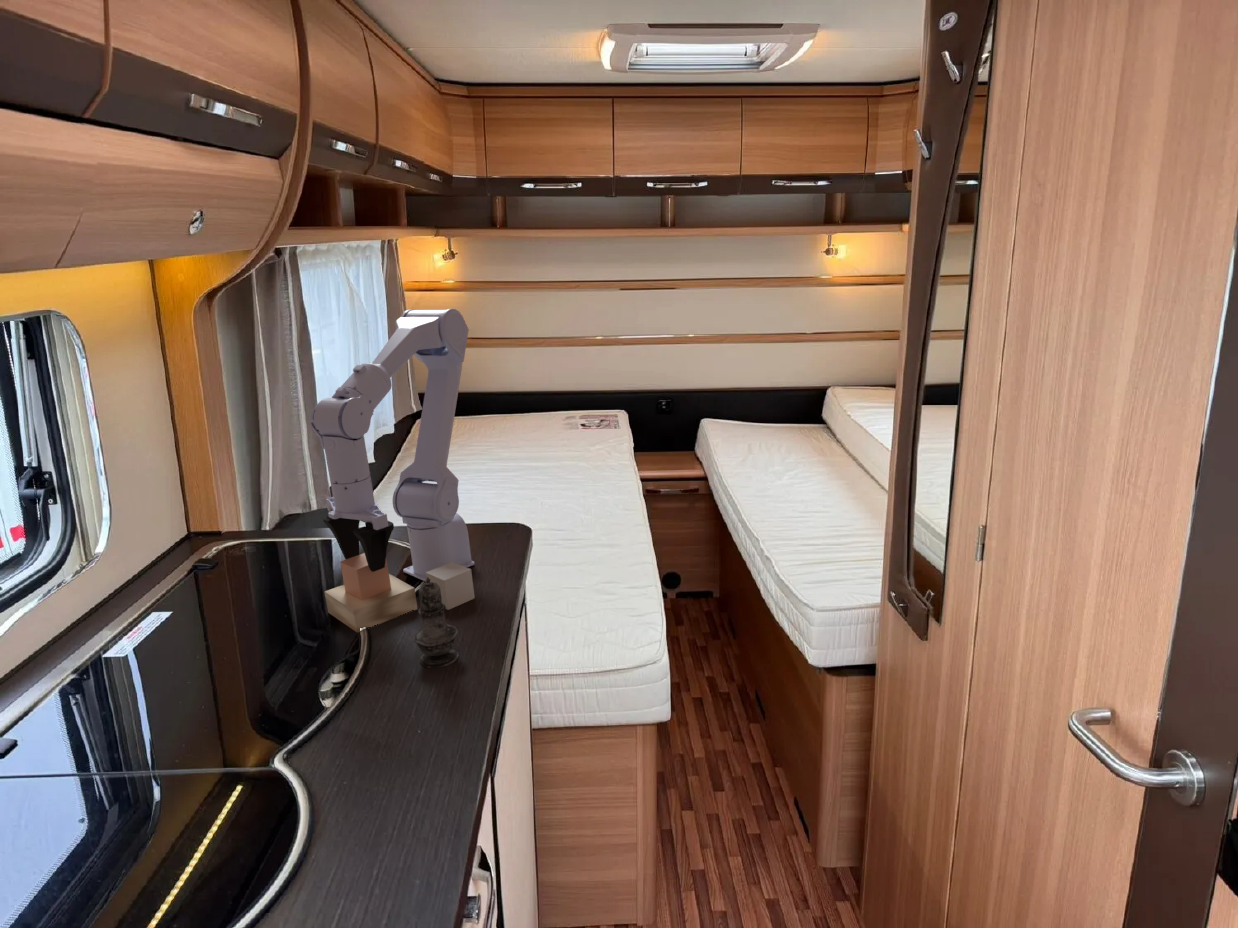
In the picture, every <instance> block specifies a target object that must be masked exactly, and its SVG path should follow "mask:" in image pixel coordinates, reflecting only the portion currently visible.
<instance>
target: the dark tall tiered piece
mask: <svg viewBox="0 0 1238 928" xmlns="http://www.w3.org/2000/svg"><path fill="white" fill-rule="evenodd" d="M425 581H426V582H425ZM425 581H424V582H425V583H423V584H422V585H421V586H419V588H418V596H419V598H418V599H419V602H420V608H419V609H418V614H419V615H420V616H421V621H422V629H420V630H418V631H417V632H416V633H415V634H414V635H413V641H414V643H415V644H416V646H417V648H418V649H419V650H420V652H421V653H423V654H422V655H421V656H420V658H419V664H420V666H422V667H424V668H427V669H440V668H444V667H447V666H449V665H452V664H453V663H455V662H456V661H457V660H458V658H459V657H460V655H459V651H458V650H456V648H455V649H454V647H455V644H456V642H457V636H458V633H459V632H458V628H456V626H455V625H451V624H448V623H447V622H446V615H445V610H447V609H446V606H445V605H444V604H442V598H441V591H440V587H439V585H438V584H436V583H433V582H430V579H429V578H428V577H427V579H426V580H425Z"/></svg>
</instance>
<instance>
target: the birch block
mask: <svg viewBox="0 0 1238 928" xmlns="http://www.w3.org/2000/svg"><path fill="white" fill-rule="evenodd" d="M389 577H390V584H391V589H389V590H387V591H384V592H382V593H379V594H377V595H374V596H372V597H369V598H367V599H364V600H360V599H358V598H356V597H354V596H353V595H351V594H349V593H347V592H345V587H344V584H343V585H340V586H339V585H338V586H336V587H334V588H331V589H327V590H325V591H324V596H325V602H326V608H327V612H328V614H330V616H332V617H334V618H336V619H337V620H338V621H340V622H341V623H343V624H344V625H346V626H347V627H348V628H350V629H351V630H352V631H354V632H355V633H360V632H361V631H360V628H363V627H371V628H373V627H375V626H374V625H376V626H378V625H380V624H383V623H385V622H387V621H390V619H391V620H394V619H396V618H399V617H400V615H401V616H403V614H404V615H406V614H408V613H407V612H409V611H411V610H414V611H416V610H419V609H418V601H417V597H416V596H417V595H416V591H415V590H416V589H415V587H414V586H412V585H411V584H408V583H407V582H405V581H403V580H401V579H399V577H398V578H397V577H396V576H394V575H392V574H390V573H389ZM411 612H412V611H411ZM405 613H406V614H405ZM409 613H410V612H409ZM398 616H399V617H398ZM377 624H378V625H377ZM372 626H373V627H372Z"/></svg>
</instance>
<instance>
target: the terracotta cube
mask: <svg viewBox="0 0 1238 928" xmlns="http://www.w3.org/2000/svg"><path fill="white" fill-rule="evenodd" d="M339 564H340V569H341V576H342V581H343V585H344V587H345V592H347V593H349V594H351V595H353V596H354V597H356V598H358V599H360V600H364V599H367V598H369V597H372V596H374V595H377V594H379V593H382V592H384V591H387V590H389V589H391V584H390V577H389V574H390V573H389V572H390V571H389V565H388V559H387V558H386V562H385V568H382V569H380V570H377V571H374V572H372V571H371V570H370V568H369V566H368V563H367V560H366V556H365V553H364V552H363V553H359V555H357V556H355V557H352V558H349V559H343V560H341V561H339Z"/></svg>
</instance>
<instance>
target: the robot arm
mask: <svg viewBox="0 0 1238 928" xmlns="http://www.w3.org/2000/svg"><path fill="white" fill-rule="evenodd" d="M394 326H395V331H394V332H393V333H392V335H391V337H390V338H389V339H388V341H387V342H386V343H385V345H384V346H383V348H382V349H381V350H380V352H378V355H377V356H376V357H375V358H374V360H373V361H372V362H371V363H370V362H364V363H361V364H356V365H355V366H354V368H352V371H353V372H352V374H350V376H349V377H348V378H347V379H346V380H345V381H344V382H343V383H342V384H341V386H338V388H336V389H335V392H334V394H333V395H332V396H331V397H326V398H323V399H321V400H320V401H319V402H318V403H317V404H316V405H315V407H313V410H312V413H311V414H312V415H311V421H309V424H310V428H311V430H312V431H313V433H314V434H315V435H316V436H317V437H318V439H319V444H320V447H322V449H323V450H324V454H325V458H326V465H327V469H328V476H329V477H328V478H329V481H330V487H331V493H332V497H329V498H325V503H326V508H327V511H328V515H327V516H324V517H323V518H322V521H323V523H324V524H325V525H326V527H328V528H329V530H330V532H331V533H332V535H333V536H334V538H335V540H336V541H337V544H338V547H339V548H340V551H341V553H342V556H343V557H344V560H346V559H349V558H352V557H355V556H357V555H360V546H361V547H362V550H363V553H365V556H366V560H367V563H368V566H369V568H370V570H371V571H372V572H374V571H377V570H380V569H382V568H385V562H386V559H387V551H388V544H389V541H390V538H391V536H392V533H393V530H394V528H395V525H394V523H393V522H392V521H390V520H388V515H387V513H385V512H384V511H382V509H381V508H380V506H379V504H377V502H376V501H375V497H374V489H373V483H372V478H371V471H370V465H369V458H368V453H367V447H366V441H365V435H366V434H367V433H368V432H369V429H370V427H371V420H372V417H373V415H374V411H375V409H376V407H378V405H380V403H381V401H383V399H385V397H386V396H387V394H389V392H390V391H391V389H392V379H391V378H392V377H393V375H395V374H396V373H397V372H398V371H400V369H401V368H402V367H403V366H404V365H405V364H406V363H407V362H408V361H409V360H410V358H412V357H413V356H414V357H416V359H417V360H418V361H419V362H421V363H422V364H424V365H425V367H426V368H427V370H428V371H427V372H428V373H427V379H426V384H425V391H424V396H423V402H422V410H421V416H420V423H419V429H418V435H417V441H416V447H415V453H414V460H413V462H412V463H410V465H408V466H407V467H406V468H405V469H403V470H402V471H400V475H399V480H398V484H397V485H396V487H395V489H394V491H393V494H392V508H393V511H394V512H395V514H396V515H397V516H398V517H400V518H402V523H403V524H404V525H406V528H407V537H408V542H409V548H410V555H411V562H412V565H410V566H407V567H405V568H403V570H402V571H403V573H404V574H408V575H410V576H412V577H414V578H416V579H419V580H421V581H423V582H425V583H427V582H426V581H425V580H426V579H427V578H426V572H428V571H431V570H433V569H436V568H438V567H441V566H443V565H446V564H448V563H451V562H454V563H456V564H459V565H461V566H464V567H466V568H469V567H471V566H474V565H475V561H473V560H472V554H471V545H470V538H469V532H468V531H469V530H468V527H467V525H466V522H465V520H464V518H463V517H462V516H461V515H460V514H459V513H457V512H458V510H459V505H460V498H459V494H458V493H459V492H458V491H459V478H457V476H456V474H454V473H453V472H452V471H451V470H450V469H449V468H448V466H447V465H448V460H449V459H448V458H449V453H450V447H451V440H452V434H453V433H452V432H453V427H454V421H455V416H456V415H455V414H456V408H457V401H458V397H459V395H458V394H459V390H460V389H459V388H460V382H461V377H462V370H463V363H464V362H465V355H466V349H467V342H468V336H469V329H470V328H469V327H468V325H467V323H466V320H465V319H464V317H463V315H462V313H461V312H460V311H459V310H457V309H456V308H448V309H414V308H411V309H410V308H409V309H406V310H404V311H403V312H402V313H401V316H400V317H399V318H397V319H396V320H395V325H394ZM429 482H433V483H429ZM360 522H363V523H364V525H365V526H362V527H360Z"/></svg>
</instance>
